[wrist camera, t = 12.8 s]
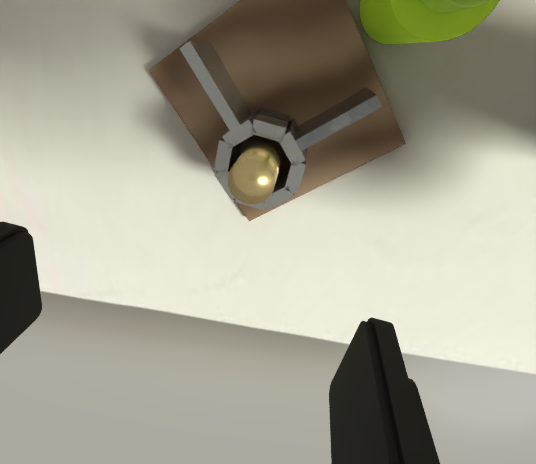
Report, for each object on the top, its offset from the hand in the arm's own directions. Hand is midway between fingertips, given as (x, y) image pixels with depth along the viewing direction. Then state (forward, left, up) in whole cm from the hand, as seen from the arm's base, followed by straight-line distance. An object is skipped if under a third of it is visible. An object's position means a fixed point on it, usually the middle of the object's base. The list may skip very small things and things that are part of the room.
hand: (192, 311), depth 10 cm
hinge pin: (-1, +2, -27) cm, 27 cm away
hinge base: (+2, -1, -28) cm, 28 cm away
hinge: (+2, -1, -27) cm, 27 cm away
